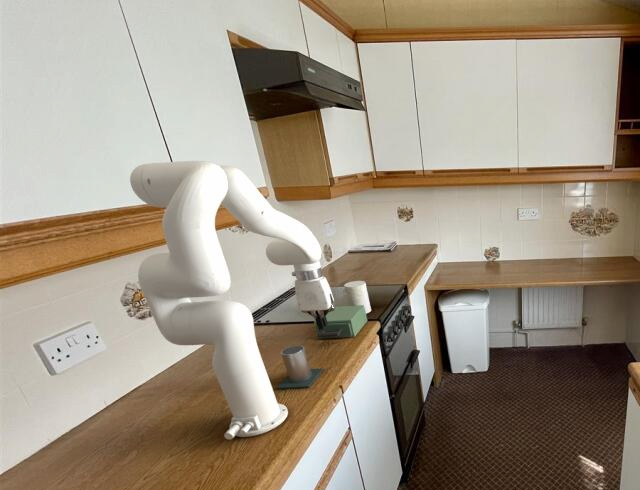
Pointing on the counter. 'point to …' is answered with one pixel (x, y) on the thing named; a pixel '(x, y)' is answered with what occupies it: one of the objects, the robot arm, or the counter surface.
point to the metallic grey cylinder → (296, 363)
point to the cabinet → (348, 318)
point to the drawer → (335, 330)
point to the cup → (357, 294)
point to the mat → (304, 384)
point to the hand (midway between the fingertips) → (323, 328)
